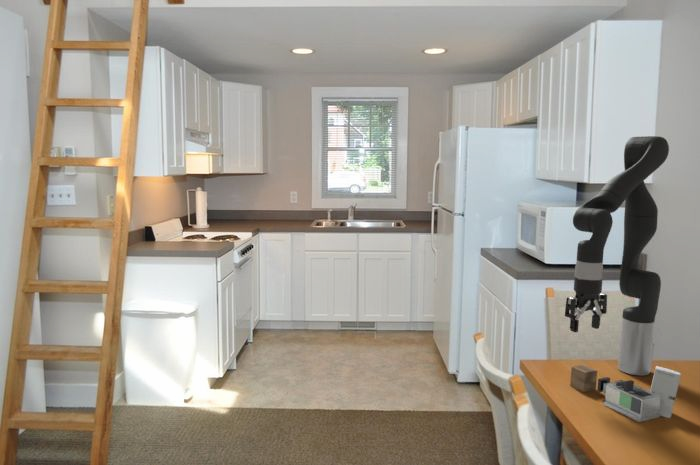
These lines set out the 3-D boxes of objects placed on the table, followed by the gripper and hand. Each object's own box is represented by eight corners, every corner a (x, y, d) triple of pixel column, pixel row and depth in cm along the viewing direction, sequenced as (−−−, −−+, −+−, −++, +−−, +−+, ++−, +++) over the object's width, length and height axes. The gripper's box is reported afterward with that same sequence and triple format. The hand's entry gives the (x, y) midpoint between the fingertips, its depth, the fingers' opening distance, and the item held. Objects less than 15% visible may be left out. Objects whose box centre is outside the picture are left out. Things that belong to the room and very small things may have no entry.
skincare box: (645, 411, 146) (654, 368, 145) (646, 407, 150) (654, 365, 149) (671, 419, 143) (681, 375, 142) (671, 415, 147) (680, 371, 146)
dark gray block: (630, 389, 145) (630, 380, 145) (633, 390, 144) (633, 381, 144) (623, 390, 144) (624, 381, 144) (626, 392, 143) (627, 382, 143)
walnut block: (582, 383, 165) (583, 364, 165) (595, 389, 161) (597, 370, 160) (570, 385, 163) (571, 366, 163) (583, 392, 159) (585, 372, 158)
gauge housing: (623, 400, 154) (625, 380, 153) (659, 416, 144) (662, 395, 143) (603, 404, 150) (605, 384, 150) (639, 422, 141) (641, 400, 140)
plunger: (606, 388, 156) (607, 370, 156) (635, 402, 148) (637, 382, 147) (592, 391, 154) (593, 372, 153) (621, 405, 146) (622, 385, 145)
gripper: (595, 272, 165) (591, 323, 167) (560, 275, 159) (557, 329, 161) (616, 276, 158) (612, 330, 160) (580, 280, 152) (577, 336, 154)
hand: (584, 329), depth 161 cm, fingers open, 8 cm apart
